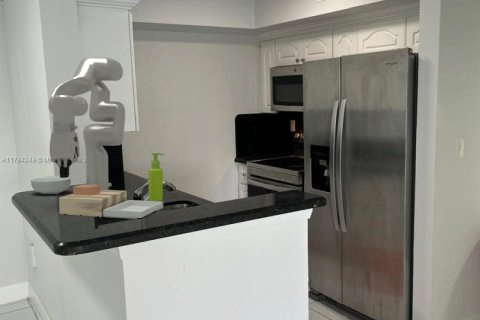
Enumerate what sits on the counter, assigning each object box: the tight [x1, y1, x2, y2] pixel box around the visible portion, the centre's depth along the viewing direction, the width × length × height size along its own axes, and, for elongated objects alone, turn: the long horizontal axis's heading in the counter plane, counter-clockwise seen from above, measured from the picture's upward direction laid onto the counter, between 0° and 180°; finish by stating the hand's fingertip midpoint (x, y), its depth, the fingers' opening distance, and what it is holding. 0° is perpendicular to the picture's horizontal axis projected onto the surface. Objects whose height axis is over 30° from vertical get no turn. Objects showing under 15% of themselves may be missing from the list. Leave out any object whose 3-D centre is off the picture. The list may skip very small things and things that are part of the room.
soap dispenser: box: [148, 152, 166, 202], centre depth 189 cm, size 6×7×20 cm
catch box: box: [102, 199, 164, 220], centre depth 164 cm, size 20×14×2 cm
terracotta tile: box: [72, 183, 101, 196], centre depth 167 cm, size 7×7×3 cm
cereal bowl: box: [30, 175, 72, 195], centre depth 203 cm, size 17×17×7 cm
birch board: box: [58, 189, 128, 218], centre depth 167 cm, size 20×16×6 cm
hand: (64, 177), depth 168 cm, fingers closed
